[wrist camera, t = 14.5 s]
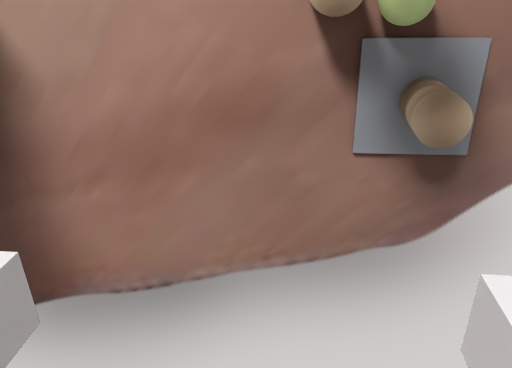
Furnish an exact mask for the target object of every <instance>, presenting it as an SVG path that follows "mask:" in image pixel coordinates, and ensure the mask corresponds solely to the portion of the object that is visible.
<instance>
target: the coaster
mask: <svg viewBox="0 0 512 368" xmlns="http://www.w3.org/2000/svg"><path fill="white" fill-rule="evenodd" d="M491 39H492V38H490V37H404V38H362V44H361V55H360V67H359V78H358V90H357V101H356V113H355V124H354V136H353V147H352V152H353V153H376V154H423V155H467V151H468V146H469V142H470V137H471V132H472V128H473V123H474V118H475V114H476V109H477V104H478V100H479V95H480V90H481V85H482V81H483V76H484V71H485V67H486V62H487V57H488V53H489V48H490V43H491ZM424 77H430V78H435V79H437V80H439V81H441V82H442V83H443V84H444V85H446V86H447V87H448V88H450V89H451V90H452V91H453V92H455V93H456V94H457V95H459V96H460V97H461V98H462V99H464V100H465V101H466V102H467V103H468V104H469V106H470V108H471V110H472V113H473V122H472V126H471V129H470V131H469V132H468V134H467V135H466V136H465V138H464V139H463V140H461V141H460V142H459V143H457V144H455V145H453V146H451V147H447V148H432V147H429V146H426V145H425V144H423V143H422V142H421V141H420V140H419V139H418V138H417V136H416V135H415V133H414V132H413V130H412V128H411V127H410V125H409V124H408V122H407V121H406V119H405V118H404V116H403V114H402V113H401V110H400V106H399V101H400V96H401V94H402V92H403V90H404V89H405V88H406V86H407V85H408V84H410V83H411V82H413V81H414V80H417V79H419V78H424Z"/></svg>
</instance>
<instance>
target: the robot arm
mask: <svg viewBox="0 0 512 368" xmlns="http://www.w3.org/2000/svg"><path fill="white" fill-rule="evenodd" d="M39 323H40V321H39V318H38V314H37V312H36V308H35V305H34V302H33V298H32V295H31V292H30V289H29V286H28V283H27V279H26V276H25V273H24V270H23V267H22V263H21V260H20V257H19V254H18V252H6V251H0V368H5V367H6V366H7V365H8V363H9V362H10V361H11V360H12V358H13V357H14V356H15V354H16V353H17V352H18V351H19V349H20V348H21V347H22V345H23V344H24V343H25V341H26V340H27V339H28V337H29V336H30V335H31V334H32V332H33V331H34V330H35V328H36V327H37V326H38V325H39ZM461 351H462V354H463V356H464V359H465V361H466V363H467V366H468V368H512V276H506V275H485V274H481V275H480V279H479V283H478V287H477V290H476V294H475V298H474V302H473V306H472V309H471V314H470V317H469V321H468V325H467V329H466V332H465V336H464V340H463V344H462V348H461Z"/></svg>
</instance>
